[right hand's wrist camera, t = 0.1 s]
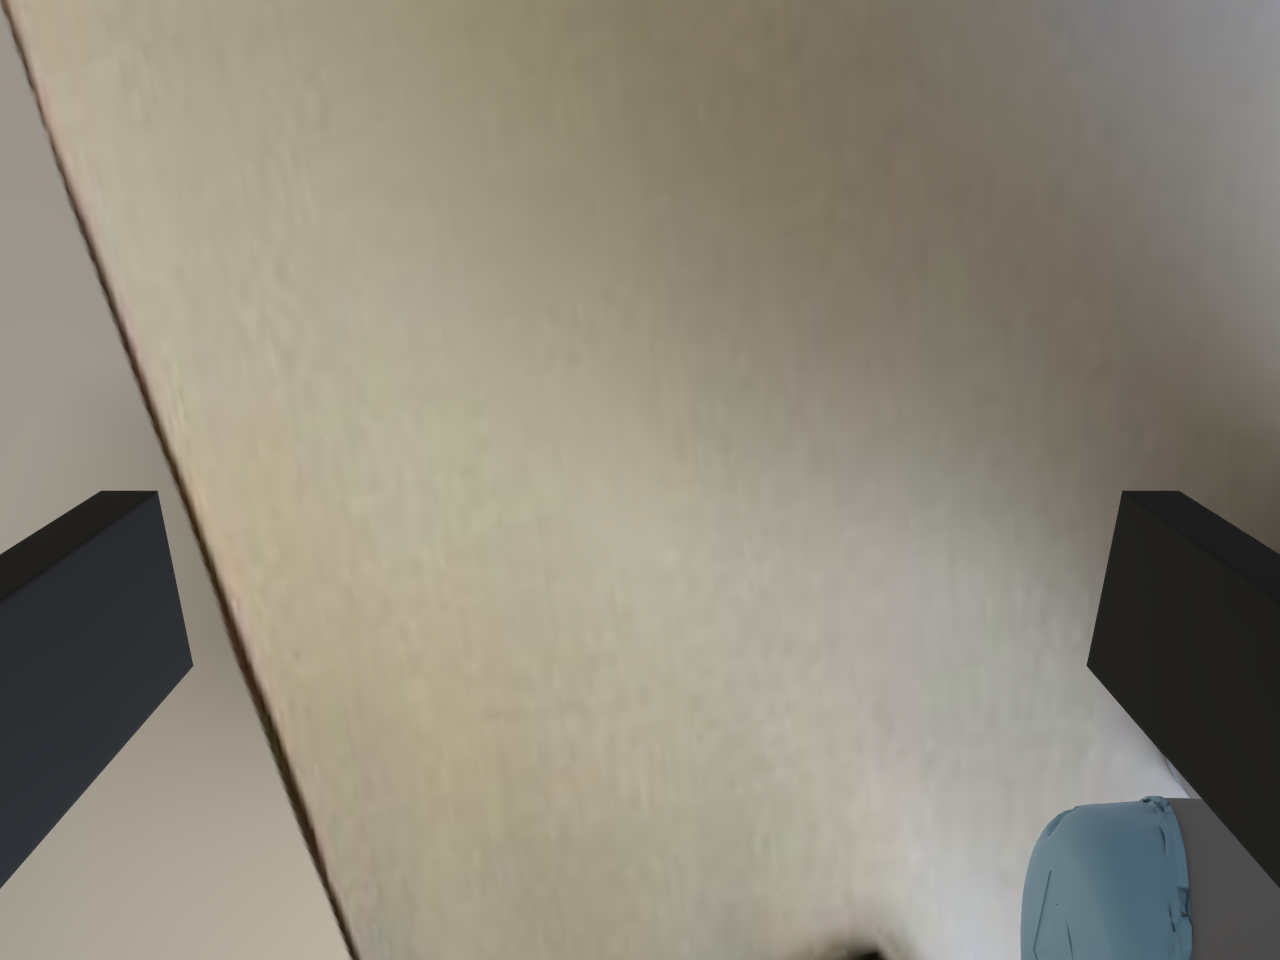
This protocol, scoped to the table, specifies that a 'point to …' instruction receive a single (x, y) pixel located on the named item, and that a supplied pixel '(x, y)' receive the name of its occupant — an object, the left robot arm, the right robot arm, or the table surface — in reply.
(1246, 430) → the table surface
